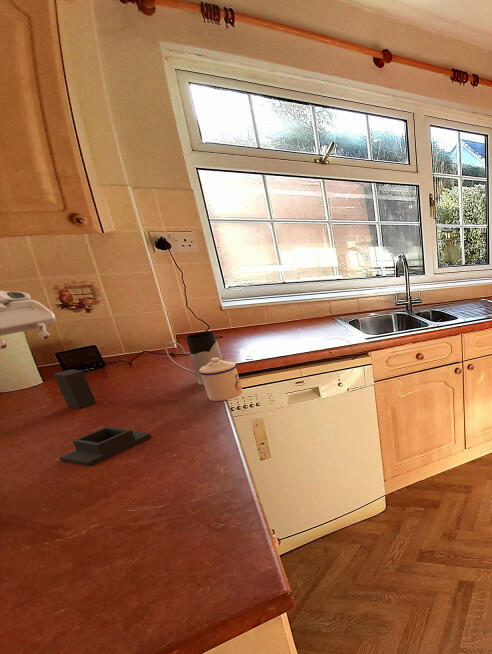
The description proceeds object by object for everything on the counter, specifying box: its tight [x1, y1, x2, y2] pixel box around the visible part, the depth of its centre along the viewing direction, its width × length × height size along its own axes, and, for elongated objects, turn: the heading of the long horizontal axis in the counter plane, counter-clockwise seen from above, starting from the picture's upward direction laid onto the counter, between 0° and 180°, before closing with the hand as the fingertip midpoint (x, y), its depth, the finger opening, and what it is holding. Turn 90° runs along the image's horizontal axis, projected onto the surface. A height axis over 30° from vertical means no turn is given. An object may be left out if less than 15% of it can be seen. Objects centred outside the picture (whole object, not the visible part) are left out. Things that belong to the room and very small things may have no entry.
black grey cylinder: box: [164, 331, 224, 386], centre depth 134 cm, size 9×14×15 cm, turn 114°
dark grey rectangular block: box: [52, 369, 97, 410], centre depth 119 cm, size 4×5×10 cm
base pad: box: [59, 426, 152, 467], centre depth 97 cm, size 13×9×4 cm
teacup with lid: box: [199, 358, 244, 402], centre depth 124 cm, size 12×9×12 cm
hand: (25, 342), depth 117 cm, fingers open, 8 cm apart
